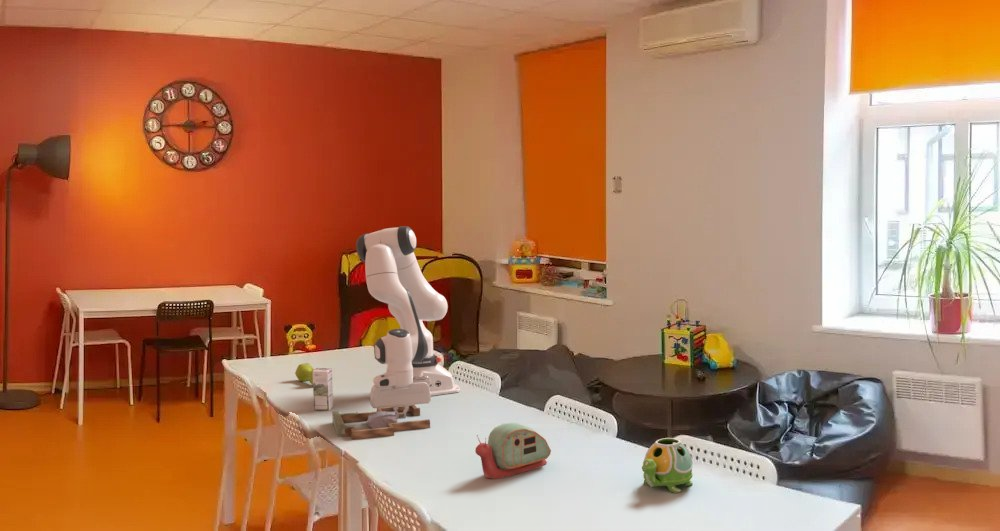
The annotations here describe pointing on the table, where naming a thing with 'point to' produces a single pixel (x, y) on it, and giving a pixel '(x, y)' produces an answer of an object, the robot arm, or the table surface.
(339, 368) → the table surface
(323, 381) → the syrup box
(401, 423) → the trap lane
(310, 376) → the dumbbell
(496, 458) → the toy snail
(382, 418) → the stone block
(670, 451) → the turtle holder
